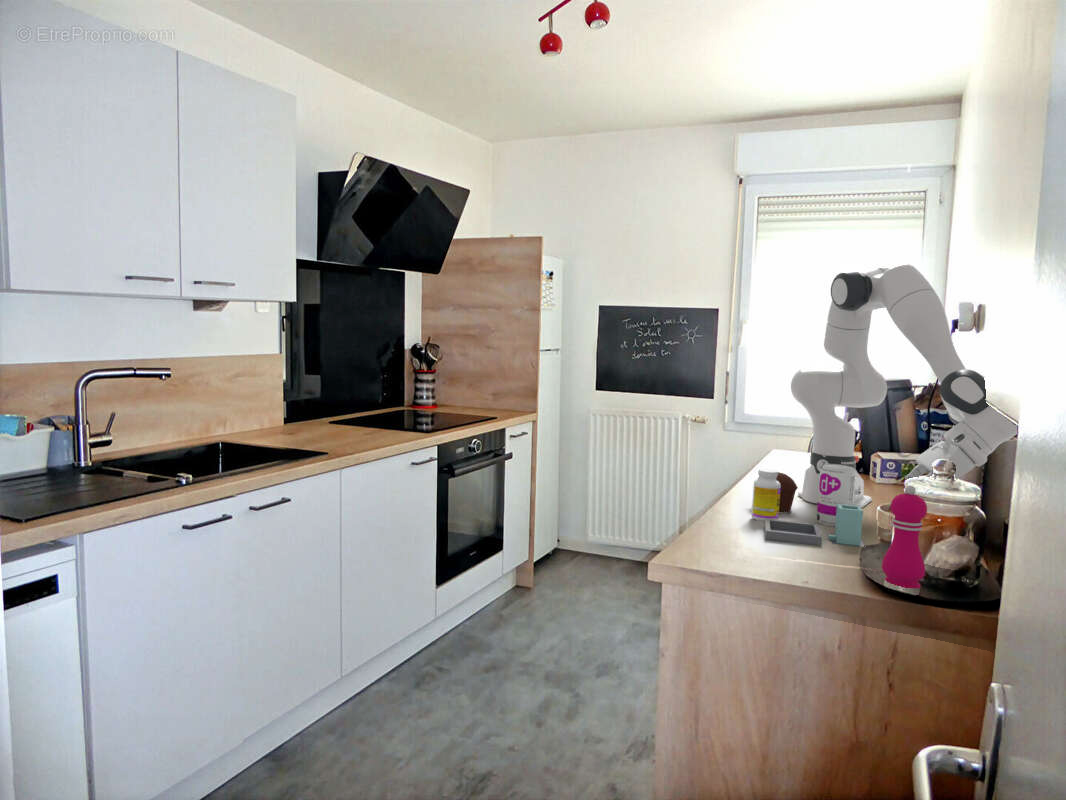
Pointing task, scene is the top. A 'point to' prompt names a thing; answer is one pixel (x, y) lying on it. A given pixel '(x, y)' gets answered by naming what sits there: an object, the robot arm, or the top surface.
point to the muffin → (786, 492)
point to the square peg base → (849, 544)
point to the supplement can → (834, 491)
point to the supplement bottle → (766, 496)
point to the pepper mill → (905, 541)
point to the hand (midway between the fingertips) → (911, 484)
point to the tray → (792, 532)
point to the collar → (848, 525)
